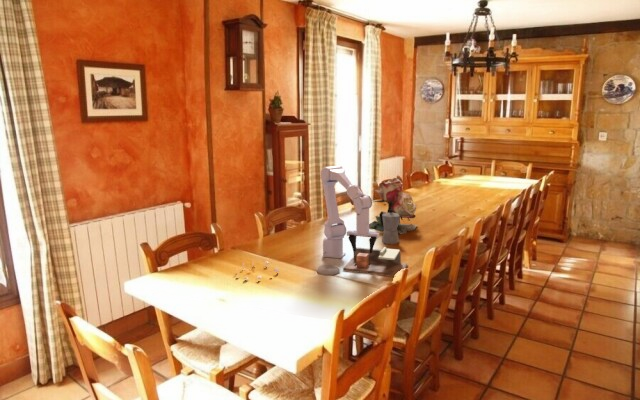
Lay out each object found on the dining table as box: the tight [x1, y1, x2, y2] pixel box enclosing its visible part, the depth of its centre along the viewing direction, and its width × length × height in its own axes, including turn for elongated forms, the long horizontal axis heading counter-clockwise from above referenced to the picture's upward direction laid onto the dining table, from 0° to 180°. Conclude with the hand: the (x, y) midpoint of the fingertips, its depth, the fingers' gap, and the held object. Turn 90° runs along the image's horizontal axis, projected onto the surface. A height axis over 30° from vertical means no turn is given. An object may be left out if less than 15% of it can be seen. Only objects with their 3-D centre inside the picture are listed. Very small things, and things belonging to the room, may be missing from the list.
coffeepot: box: [379, 209, 401, 245], centre depth 247 cm, size 15×9×18 cm, turn 33°
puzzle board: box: [342, 247, 408, 277], centre depth 207 cm, size 26×15×7 cm, turn 70°
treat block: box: [356, 253, 369, 268], centre depth 209 cm, size 4×4×6 cm
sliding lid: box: [378, 246, 401, 260], centre depth 204 cm, size 7×13×2 cm, turn 160°
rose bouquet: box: [369, 177, 418, 235], centre depth 274 cm, size 26×29×30 cm
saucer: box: [316, 264, 341, 276], centre depth 204 cm, size 10×10×1 cm
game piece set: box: [235, 260, 279, 280], centre depth 202 cm, size 19×20×4 cm
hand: (362, 251), depth 208 cm, fingers open, 7 cm apart
